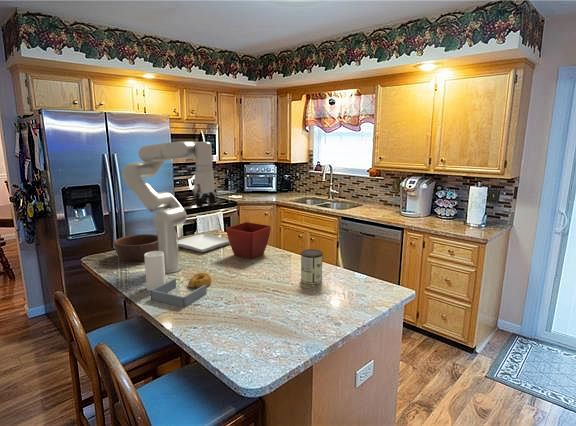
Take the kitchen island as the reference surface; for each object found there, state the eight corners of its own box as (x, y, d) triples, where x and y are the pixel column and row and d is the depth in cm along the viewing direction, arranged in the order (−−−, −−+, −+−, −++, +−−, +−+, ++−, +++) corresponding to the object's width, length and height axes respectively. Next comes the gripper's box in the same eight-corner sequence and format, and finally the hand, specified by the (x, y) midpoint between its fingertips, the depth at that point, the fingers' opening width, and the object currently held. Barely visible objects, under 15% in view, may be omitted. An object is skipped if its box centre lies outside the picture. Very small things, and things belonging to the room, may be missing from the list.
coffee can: (305, 275, 183) (305, 248, 181) (324, 278, 179) (325, 250, 176) (297, 282, 174) (297, 253, 171) (317, 285, 170) (318, 256, 167)
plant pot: (252, 262, 202) (251, 232, 199) (225, 256, 212) (225, 228, 209) (271, 253, 218) (271, 225, 215) (246, 248, 228) (246, 221, 225)
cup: (169, 285, 169) (167, 252, 166) (157, 292, 162) (155, 257, 158) (154, 282, 172) (152, 250, 169) (142, 289, 164) (140, 255, 161)
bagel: (184, 284, 171) (183, 274, 170) (206, 279, 177) (206, 269, 176) (192, 291, 163) (192, 281, 162) (215, 285, 170) (215, 276, 169)
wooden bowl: (170, 256, 211) (169, 239, 209) (128, 267, 193) (126, 248, 191) (148, 248, 227) (147, 231, 225) (107, 257, 209) (106, 239, 207)
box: (150, 299, 154) (150, 290, 153) (174, 286, 167) (174, 278, 167) (184, 307, 147) (183, 297, 146) (206, 293, 160) (206, 284, 160)
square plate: (202, 255, 215) (202, 249, 214) (171, 247, 229) (171, 241, 228) (233, 244, 237) (233, 238, 236) (203, 238, 251) (203, 232, 251)
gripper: (208, 167, 179) (210, 201, 183) (185, 169, 164) (187, 207, 167) (221, 167, 176) (223, 202, 180) (199, 170, 161) (201, 208, 164)
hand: (205, 205), depth 173 cm, fingers open, 9 cm apart
